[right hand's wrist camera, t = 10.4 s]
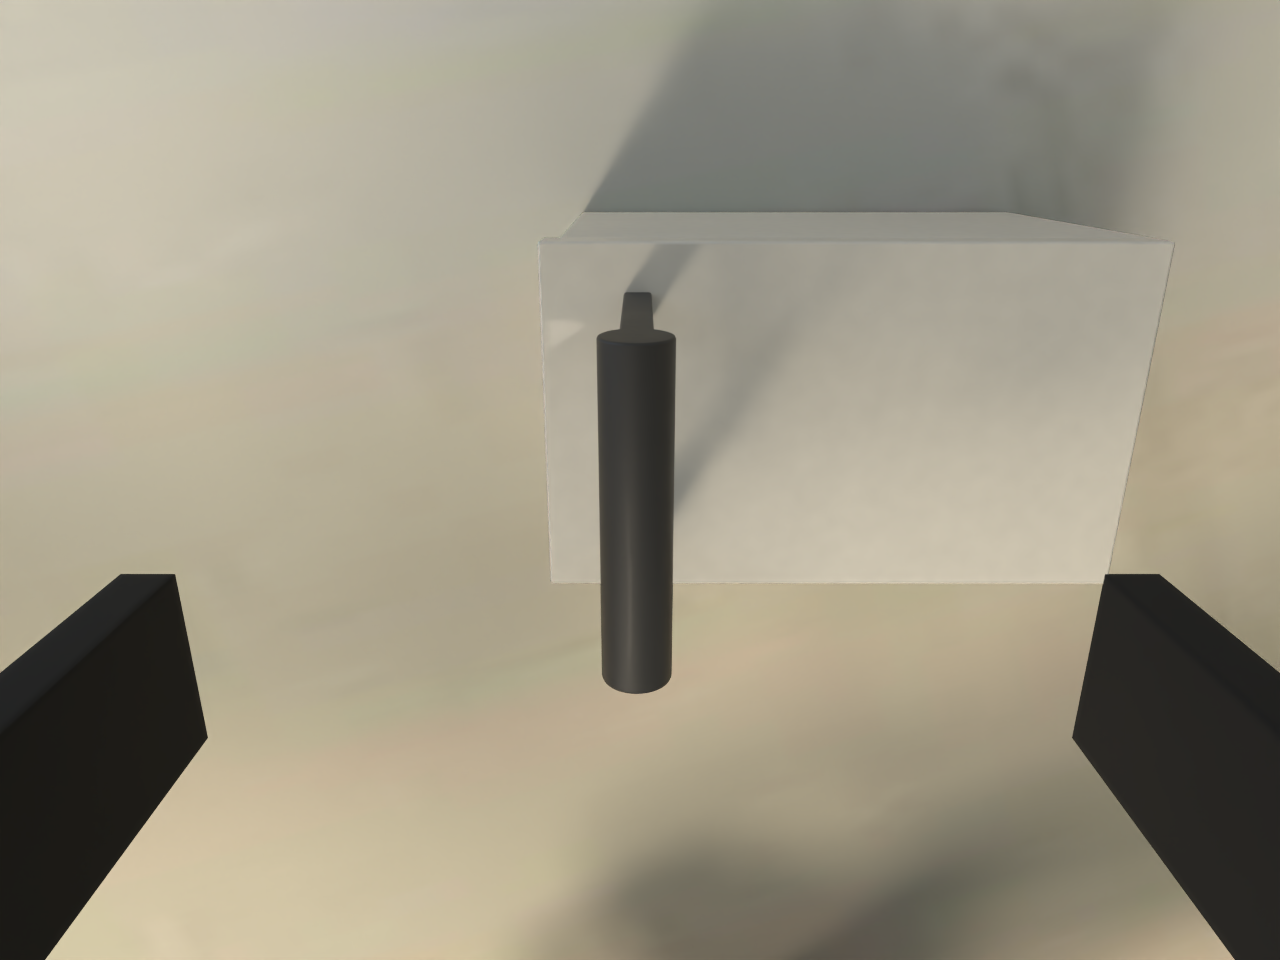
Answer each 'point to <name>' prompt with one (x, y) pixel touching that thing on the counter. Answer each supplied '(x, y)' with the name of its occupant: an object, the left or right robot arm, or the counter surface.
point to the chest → (826, 225)
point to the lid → (835, 414)
